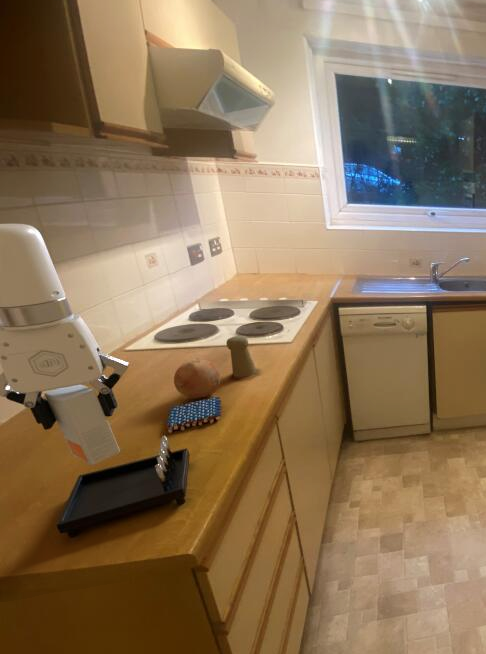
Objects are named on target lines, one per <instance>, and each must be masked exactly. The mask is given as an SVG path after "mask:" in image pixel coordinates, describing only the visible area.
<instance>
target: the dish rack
mask: <svg viewBox="0 0 486 654" xmlns="http://www.w3.org/2000/svg"><path fill="white" fill-rule="evenodd" d="M160 439H161V442H160V443H159V447H160V449H158V452H157V453H158V455H154V456H150V457H147V458H142V459H139V460H134V461H131V462H127V463H123V464H119V465H115V466H110V467H106V468H103V469H99V470H94V471H91V472H87V473H83V474H80V475H78V476H77V479H76V481H75V483H74V485H73V487H72V490H71V492H70V494H69V496H68V498H67V501H66V503H65V505H64V507H63V509H62V512H61V514H60V516H59V518H58V520H57V522H56V525H55V526H56V528H57V530H58V532H59V534H60V535H61V534H65V533H67V535H68V538H75V537H77V536H79V534H80V531H79V530H80V529H81V528H85V527H89V526H92V525H95V524H99V523H102V522H106V521H109V520H112V519H115V518H119V517H123V516H126V515H129V514H133V513H136V512H139V511H143V510H146V509H149V508H152V507H156V506H160V505H162V504H166V503H170V502H173V501H175V502H176V505H178V506H181V505H183V504H185V502H186V498H185V497H186V493H187V484H188V475H189V466H190V452H189V450H188V448H183V449H178V450H174V451H171V448H170V445H169V442H168V439H167V436H165V435H162V436H161V438H160Z"/></svg>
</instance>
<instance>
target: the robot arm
mask: <svg viewBox="0 0 486 654" xmlns="http://www.w3.org/2000/svg"><path fill="white" fill-rule="evenodd" d="M58 275H59V274H58V273H57V270H56V267H55V265H54V263H53V260H52V258H51V256H50V252H49V251H48V248H47V245H46V242H45V240H44V238H43V235H42V234H41V233H40V231H39V230H38V229H37V228H35V227H34V226H32V225H30V224H26V223H0V367H1V368H2V372H1V374H0V397H2V398H6V399H7V400H9V401H11V402H14V403H17V404H21V405H22V406H24V408H26V409H30V411H31V413H32V415H33V417H34V419H35V422H36V423H37V424H38V425H40V424H41V425H42V428H43V430H45V431H47V430H50V429H52V428H53V427H54V425H55V424H56V423H57V420H56V418H55V416H54V414H53V412H52V410H51V408H50V405H49V403H48V401H47V399H46V398H43V397H42V395H43V392H48V391H52V390H55V389H59V388H64V387H70V386H75V385H85V384H89V385H90V386H92V387H93V388H94V390H95V389H96V390H97V391H98V394H97V397H98V400H99V402H100V405H101V407H102V410H103V412H104V414H105V416H106V418H108V417H112V416H113V414H114V412H115V409H117V408H118V403H117V399H116V397H115V394H114V391H113V388H114V387H115V386H116V384H117V383H118V382H119V380H120V379H121V378H122V377H123V376H124V374H125V373H126V372H127V370H128V368H129V367H130V363H129V362H127V361H124V360H123V359H120V358H118V357H115V356H112V355H109V354H107V353H105V352H102V350H101V348H100V345H99V344H98V342H97V341H96V338H95V337H94V335H93V333H92V331H91V330H90V328H89V327H88V325H87V324H86V322H85V321H84V319H83V318H82V317H81V316H80V314H74V312H73V310H72V308H71V305H70V303H69V299H68V297H67V295H66V293H65V291H64V288H63V285H62V282H61V280H60V277H59V276H58ZM107 367H110V368H112V369H113V371H112V372H111V374H110V375H109V376H108V377H107V376H105V374H104V371H105V370H106V369H107Z"/></svg>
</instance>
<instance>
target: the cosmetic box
mask: <svg viewBox="0 0 486 654" xmlns="http://www.w3.org/2000/svg"><path fill="white" fill-rule="evenodd" d="M43 394H44V398H45V399H46V400H47V401H48V403H49V405H50V408H51V410H52V412H53V414H54V416H55V418H56V423H57V425H58V427H59V429H60V431H61V433H62V435H63V438H64V440H65V442H66V445H67V446H68V448H69V451H70V452H71V455H72V456H73V457H76V458H77V459H79V460H81V461H83V462H85V463H86V464H88V465H90V466H94V465H96V464H98V463H100V462H102V461H105V460H107V459H109V458H111V457H113V456H115V455H118V454H120V453H121V449H120V447H119V445H118V442H117V440H116V437H115V435H114V433H113V430H112V428H111V425H110V423H109V421H108V417H107V416H105V414H104V412H103V410H102V407H101V405H100V402H99V400H98V397H97V396H98V394H97V391H96V390H95V389H92V388H90V387H88V386H87V385H84V384H81V385H75V386H70V387H64V388H59V389H53V390H48V391H45V392H44V393H43Z"/></svg>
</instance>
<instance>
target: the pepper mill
mask: <svg viewBox="0 0 486 654" xmlns="http://www.w3.org/2000/svg"><path fill="white" fill-rule="evenodd" d="M226 347H227V349H228V350H229V351H230V358H231V370H232V376H233V377H234V378H241V379H242V378H246V377H250V376H253V375H255V374H256V373H257V372H258V371H257V368H256V364H255V362H254V360H253V358H252V356H251V353H250V350H249V348H248V347H249V340H248V338H247V337H246V336H245V335H244V336H243V335H235V336H232V337H229V338H228V339H226Z"/></svg>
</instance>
